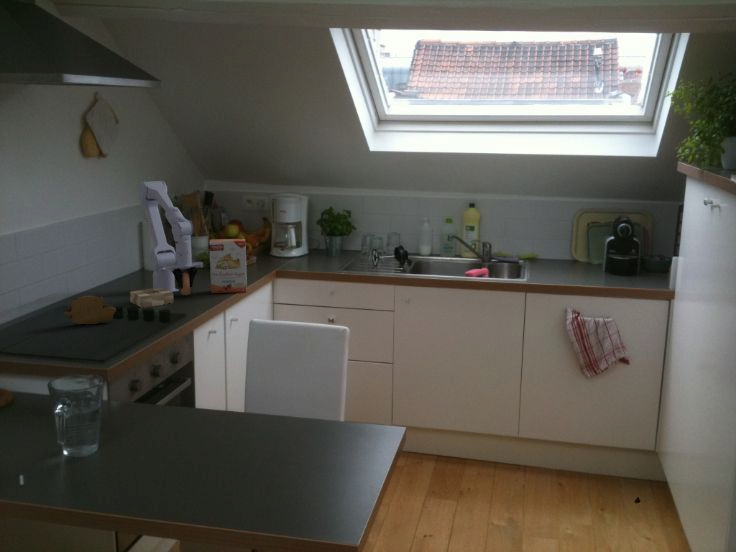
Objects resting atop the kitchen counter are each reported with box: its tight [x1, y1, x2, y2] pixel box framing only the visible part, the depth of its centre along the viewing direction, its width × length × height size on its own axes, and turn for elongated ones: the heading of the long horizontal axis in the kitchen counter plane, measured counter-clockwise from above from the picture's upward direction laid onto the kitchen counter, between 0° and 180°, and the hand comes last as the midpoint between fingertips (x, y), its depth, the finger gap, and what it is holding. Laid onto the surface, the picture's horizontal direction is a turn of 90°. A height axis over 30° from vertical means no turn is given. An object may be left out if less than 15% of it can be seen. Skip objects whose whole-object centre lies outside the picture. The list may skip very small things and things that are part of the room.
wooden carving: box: [63, 294, 117, 325], centre depth 247 cm, size 16×5×10 cm, turn 114°
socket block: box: [129, 287, 175, 309], centre depth 278 cm, size 12×12×4 cm
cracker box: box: [208, 238, 248, 294], centre depth 295 cm, size 14×6×21 cm, turn 99°
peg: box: [180, 272, 191, 296], centre depth 287 cm, size 3×3×8 cm
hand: (185, 287), depth 287 cm, fingers closed on peg, 3 cm apart
